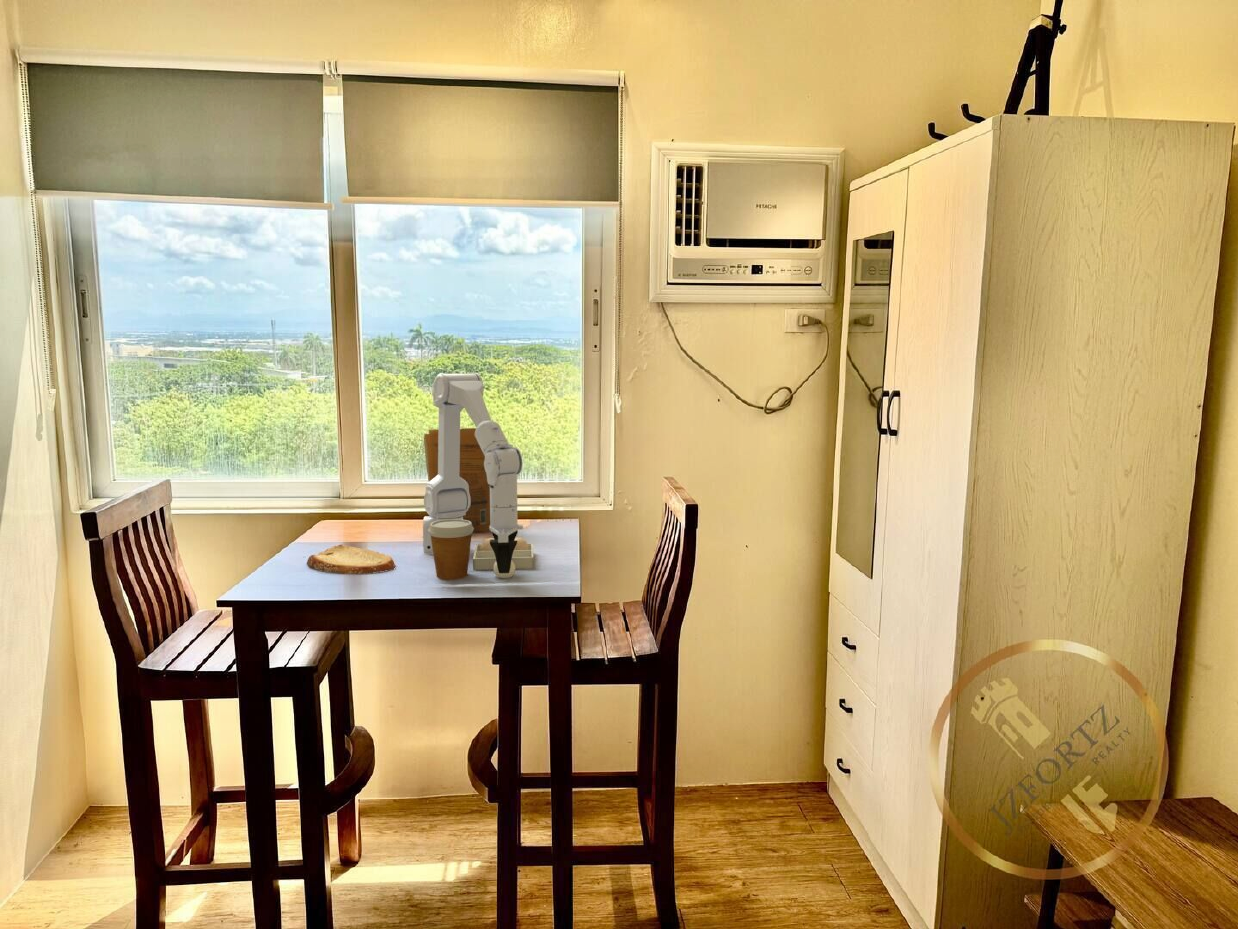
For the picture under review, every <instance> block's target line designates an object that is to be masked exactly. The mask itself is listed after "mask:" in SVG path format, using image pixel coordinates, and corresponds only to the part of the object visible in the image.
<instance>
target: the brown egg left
mask: <svg viewBox="0 0 1238 929" xmlns="http://www.w3.org/2000/svg"><path fill="white" fill-rule="evenodd" d="M490 540H495V539H494V537H488V538H486V539H484V540H482V541H481V543H480V544H481V547H480V550H481V551H493V549H492V547H491V545H490Z"/></svg>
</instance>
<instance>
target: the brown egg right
mask: <svg viewBox="0 0 1238 929" xmlns="http://www.w3.org/2000/svg"><path fill="white" fill-rule="evenodd" d="M514 541H517V544H516V547H515V549H514V550H528V544H527V543H528V542H527V541H526V539H524V538H523V537H515V540H514Z"/></svg>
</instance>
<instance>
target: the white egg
mask: <svg viewBox="0 0 1238 929" xmlns="http://www.w3.org/2000/svg"><path fill="white" fill-rule="evenodd" d="M493 572H494V574H495V577H497V578H499V579H510V578H512V577H513V576H514V574H515V572H516V569H515V564H514V562H513V561H512V560H511V567H510V571H509V573H499V571H498V567H497V562H495V564H494V569H493Z"/></svg>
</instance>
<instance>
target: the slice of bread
mask: <svg viewBox="0 0 1238 929" xmlns="http://www.w3.org/2000/svg"><path fill="white" fill-rule="evenodd" d="M306 562H307V563H306V564H308V566H309V567H310V568H312V569H314V570H316V571H320V570H322V571H321V572H325V571H328V572H327V573H333V572H339V574H350V573H351V574H352V575H353V574H354V575H355V574H356V575H359V574H362V573H366V574H374V573H373V572H378V573H381V572H380V571H385V570H390V571H391V570H392V571H393V570H395V569H396V568H397V565H396V564H395V561H394V559H393V558H392V556H389V555H387V554H385V553H380V552H378V551H374V550H369V549H365V548H364V549H363V548H359V547H353V546H349V545H343V544H338V545H334V546H332V547H329V548H327V549H325V550H323V551H321V552H319V553H317V554H312V555H310V556H309V557H308V559H307V561H306ZM395 567H396V568H395ZM394 568H395V569H394ZM385 572H386V571H385ZM362 575H363V574H362Z"/></svg>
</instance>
